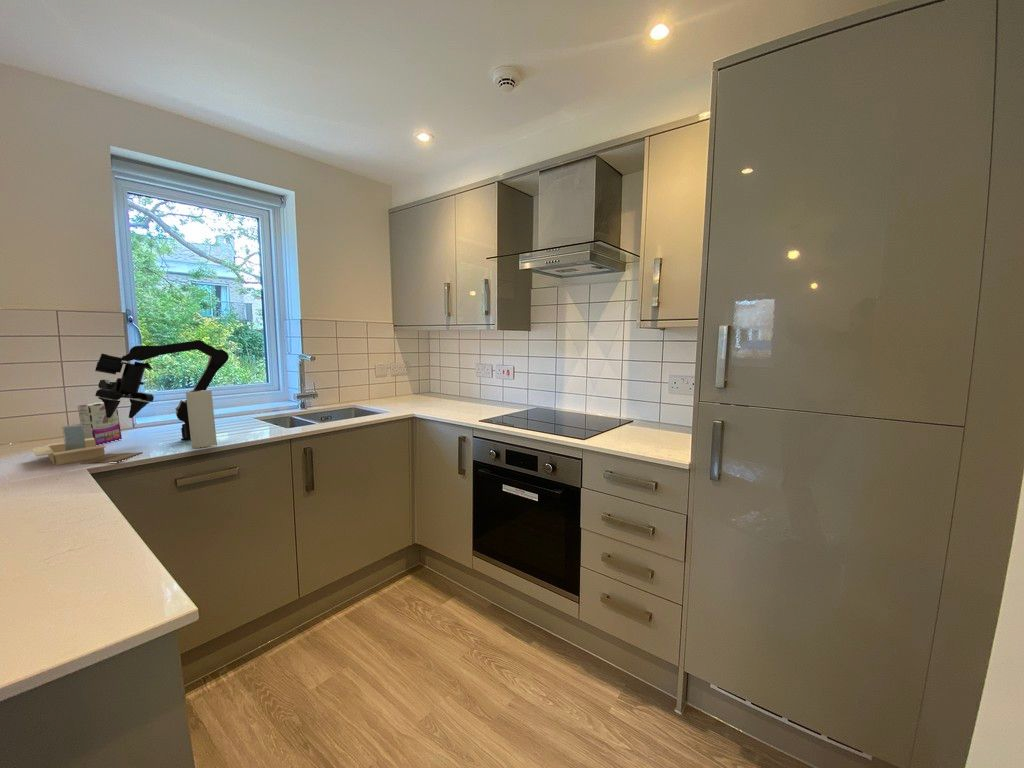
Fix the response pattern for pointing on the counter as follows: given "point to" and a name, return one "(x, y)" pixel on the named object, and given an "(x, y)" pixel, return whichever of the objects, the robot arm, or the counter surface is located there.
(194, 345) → the robot arm
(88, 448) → the carton
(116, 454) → the board
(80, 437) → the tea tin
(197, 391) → the tall white block
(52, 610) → the counter surface
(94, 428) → the candy bar box
